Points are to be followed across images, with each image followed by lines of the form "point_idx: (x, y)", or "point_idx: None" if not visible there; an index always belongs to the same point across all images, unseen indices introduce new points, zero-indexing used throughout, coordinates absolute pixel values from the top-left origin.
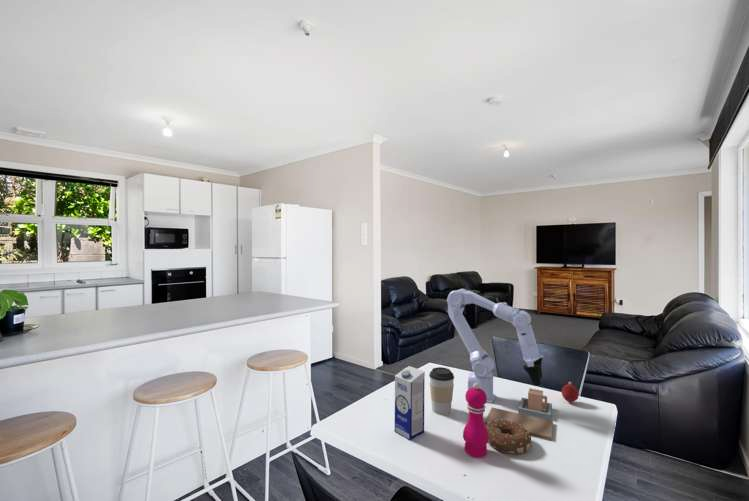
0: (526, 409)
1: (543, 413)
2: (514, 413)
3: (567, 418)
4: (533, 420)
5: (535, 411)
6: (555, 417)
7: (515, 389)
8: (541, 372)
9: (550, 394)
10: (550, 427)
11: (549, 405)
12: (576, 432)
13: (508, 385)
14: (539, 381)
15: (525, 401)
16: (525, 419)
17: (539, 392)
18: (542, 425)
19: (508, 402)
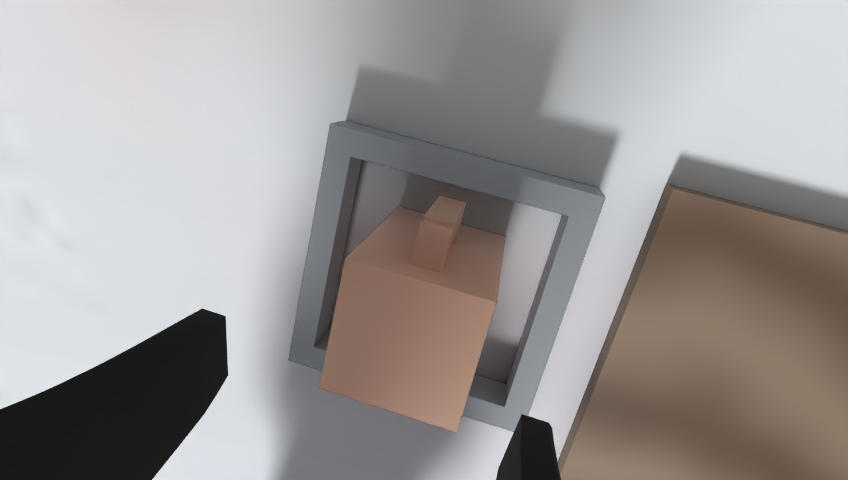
0: (533, 379)
1: (583, 255)
2: (591, 464)
3: (522, 23)
4: (697, 352)
5: (554, 314)
6: (527, 132)
7: (77, 337)
8: (156, 365)
9: (48, 67)
10: (822, 244)
11: (383, 159)
12: (813, 6)
13: (25, 372)
14: (558, 474)
15: (321, 330)
16: (687, 408)
17: (410, 311)
18: (787, 301)
19: (344, 436)
